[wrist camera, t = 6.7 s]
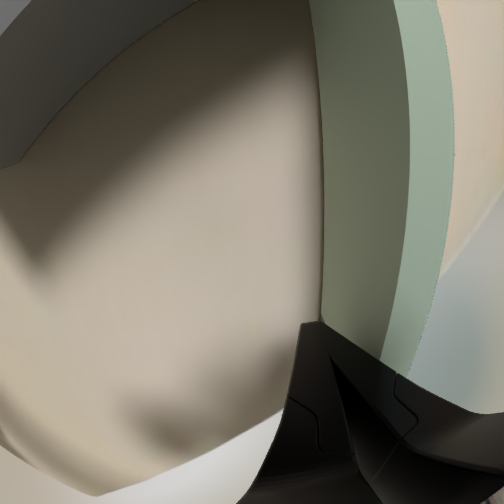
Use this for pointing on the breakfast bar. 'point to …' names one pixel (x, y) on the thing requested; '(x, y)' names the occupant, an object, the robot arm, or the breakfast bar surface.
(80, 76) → the camera case
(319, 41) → the side door
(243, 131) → the breakfast bar surface
